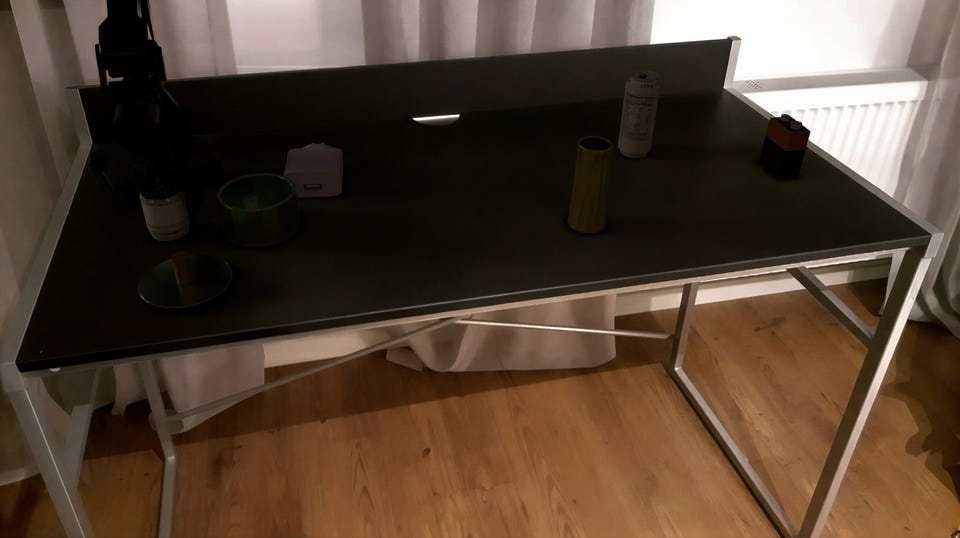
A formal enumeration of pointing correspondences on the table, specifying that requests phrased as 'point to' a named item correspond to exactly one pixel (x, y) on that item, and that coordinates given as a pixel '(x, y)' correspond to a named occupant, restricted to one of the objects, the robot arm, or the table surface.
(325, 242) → the table surface
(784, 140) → the battery
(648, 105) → the energy drink can
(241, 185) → the tin
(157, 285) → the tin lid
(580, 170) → the vase
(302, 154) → the charger
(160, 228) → the camera lens
